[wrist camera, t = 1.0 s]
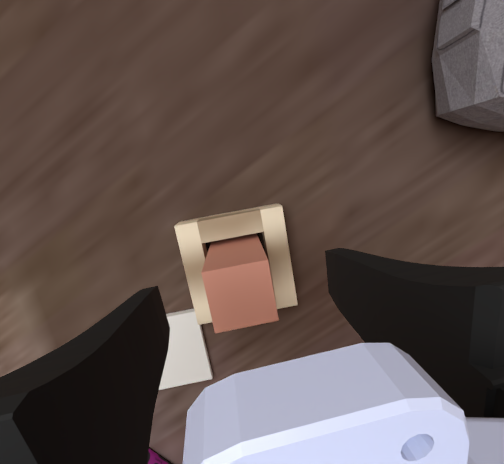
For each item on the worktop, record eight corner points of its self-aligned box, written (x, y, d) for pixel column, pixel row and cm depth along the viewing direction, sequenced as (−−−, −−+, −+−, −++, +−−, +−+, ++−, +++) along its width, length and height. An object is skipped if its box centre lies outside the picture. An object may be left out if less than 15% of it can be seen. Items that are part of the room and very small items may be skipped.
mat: (212, 374, 26) (212, 378, 26) (145, 388, 26) (143, 393, 26) (197, 307, 25) (196, 311, 24) (125, 322, 25) (122, 325, 24)
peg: (264, 275, 25) (278, 320, 17) (220, 284, 25) (215, 333, 17) (256, 233, 24) (268, 259, 16) (211, 242, 24) (201, 272, 16)
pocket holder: (292, 294, 25) (297, 304, 23) (201, 312, 25) (198, 324, 23) (277, 203, 24) (282, 205, 22) (179, 221, 23) (174, 226, 21)
